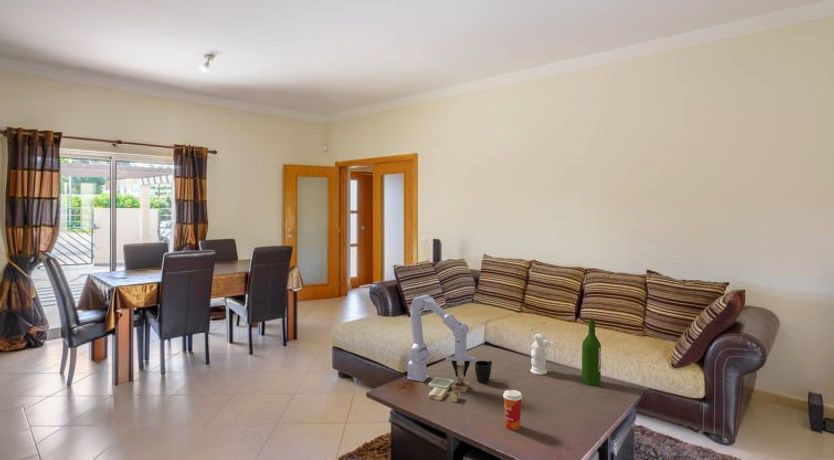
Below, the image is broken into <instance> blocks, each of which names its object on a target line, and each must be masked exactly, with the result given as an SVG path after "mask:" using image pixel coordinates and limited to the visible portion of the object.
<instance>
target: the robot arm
mask: <svg viewBox="0 0 834 460" xmlns="http://www.w3.org/2000/svg"><path fill="white" fill-rule="evenodd" d="M424 310H430V311H432V312H433V313H434V314H435V315H437V316H438V317H440V319H442V322H443V324H444V325H445V326H446V327H447V328H449V330H451V331H452V334H453V336H454V355H452V356H451V355H450V356H445V362H451V364H452V367H453V371H454V373H455V377H457V365H458V362H461V363H462V362H463V365H464V378H465V377H466V376H467V371H468V369H469V367H470V365H471V364H470V363H472V362H473V363H475V362H477V361H476V356H468V355H467V347H468V346H467V345H468V344H467V340H468V339H467V334H468V333H469V331H470V330H469V326H468V325H467V324H466V323H465V322H461V321H460V320H458V319H457V318H456V317H455V315H454V314H452V313H447V312H446V311H445V310H444V309H443V308H442V307H441V306H440V305H439V304H438V303H437V302H436V301H435V299H434V298H433V297H432V296H431V295H430V294H428V293H427V294H423V295H420V296H416V297H414V298H413V299H412V300H411V307H410V310H409V313H410V323H411V333H412V335H411V336H412V341H413V342H412V343H413V344H412V346H411V347H410V354H409V358H410V360H408V363H407V378H406V379H407V380H412V381H415V382H421V383H423V382H425V381H426V380H427V379H428V378H429V377H430V375H428V374H427V358H429V355H430V354H429V352H430V351H429V349H428V347H427V344H426V343H425V341H424V333H423V332H424V331H423V324H422V323H423V321H422V312H423V311H424Z"/></svg>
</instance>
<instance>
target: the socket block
mask: <svg viewBox="0 0 834 460" xmlns="http://www.w3.org/2000/svg"><path fill="white" fill-rule="evenodd" d="M470 384H471V383H470V382H465V381H464V383H458V382H457V380H455V381H454V384H453V385H452V386H451V390H452V391H453V390H459V391H460V393H466V392H467V391H468V389H470V387H471V385H470Z"/></svg>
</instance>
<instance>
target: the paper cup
mask: <svg viewBox="0 0 834 460" xmlns="http://www.w3.org/2000/svg"><path fill="white" fill-rule="evenodd" d="M502 397H503V408H504V425H505V428H506V429H507V430H510V431H518V430H520V426H521V425H520V424H521V413H522V412H521V411H522V400H523V395H522V392H520V390H519V391H518V390H516V389H509V390H508V389H507V390H505V391H504V392H503V394H502Z"/></svg>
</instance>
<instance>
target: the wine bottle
mask: <svg viewBox="0 0 834 460" xmlns="http://www.w3.org/2000/svg"><path fill="white" fill-rule="evenodd" d="M581 344H582V345H581V346H582V347H581V382H582V384H584V385H586V386H590V387H599V386H601V381H602V380H601V379H602V378H601V375H602V374H601V373H602V372H601V371H602V369H601V368H602V346H601V342H600V340H599V339H598V336H597V335H596V319H592V318H589V319H588V334H587V336H586V337H585V339H584V340H583V341H582V343H581Z"/></svg>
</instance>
